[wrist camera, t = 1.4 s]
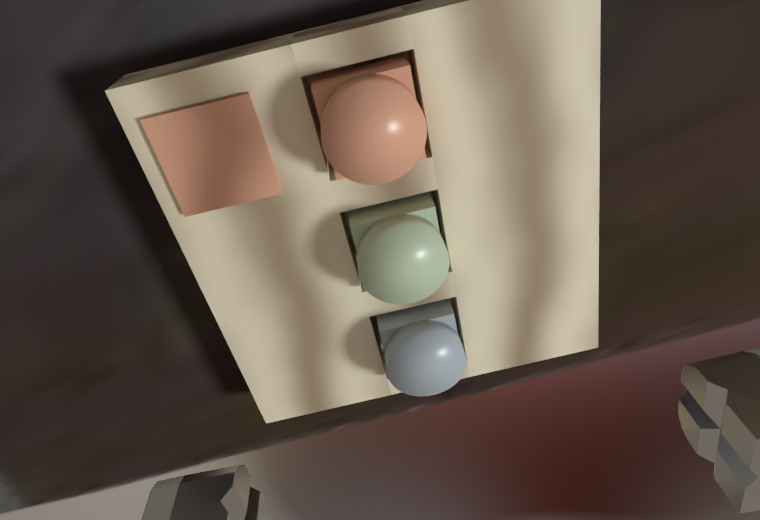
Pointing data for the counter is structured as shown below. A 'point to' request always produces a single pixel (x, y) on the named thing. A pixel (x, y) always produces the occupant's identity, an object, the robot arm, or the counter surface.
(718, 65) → the counter surface
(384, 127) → the terracotta button
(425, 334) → the slate button
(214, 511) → the robot arm
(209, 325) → the counter surface
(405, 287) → the sage button
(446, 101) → the button panel
